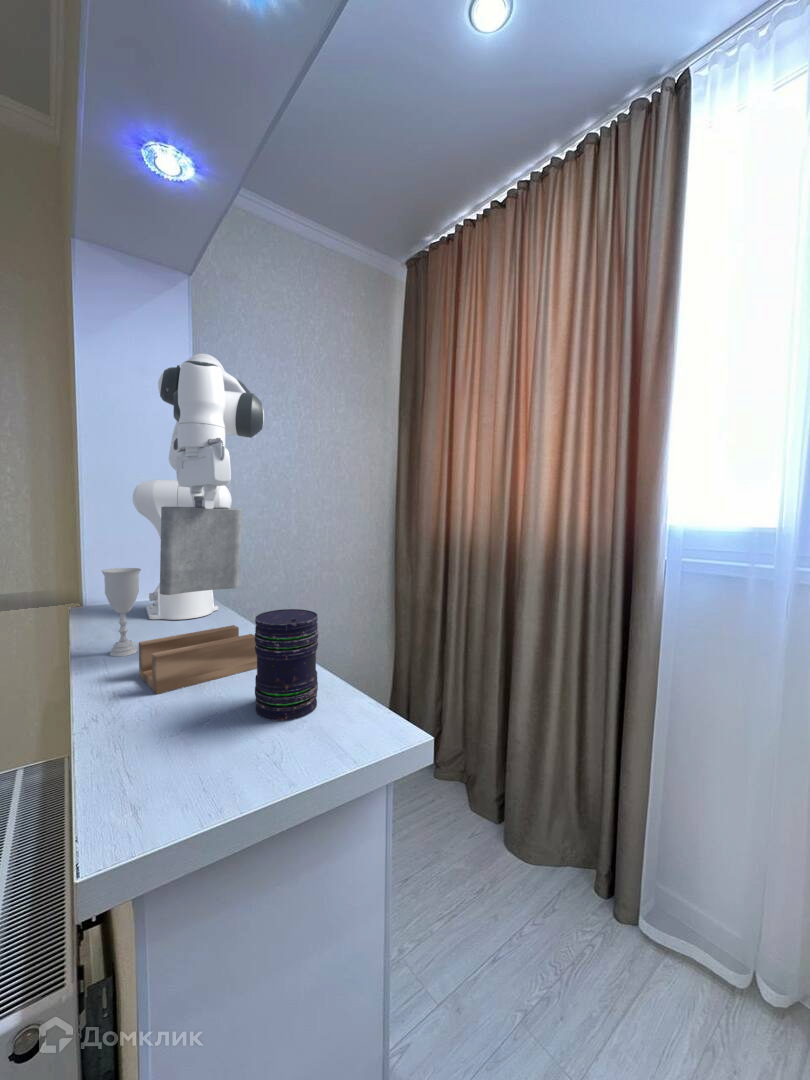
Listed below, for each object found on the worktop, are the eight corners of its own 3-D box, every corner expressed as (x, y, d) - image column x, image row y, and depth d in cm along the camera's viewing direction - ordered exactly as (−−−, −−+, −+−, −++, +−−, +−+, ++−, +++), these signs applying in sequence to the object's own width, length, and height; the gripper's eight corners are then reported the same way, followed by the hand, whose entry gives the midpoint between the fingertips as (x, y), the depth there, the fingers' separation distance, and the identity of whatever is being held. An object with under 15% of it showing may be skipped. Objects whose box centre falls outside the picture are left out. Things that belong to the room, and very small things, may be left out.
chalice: (150, 648, 97) (148, 568, 95) (128, 658, 90) (125, 573, 89) (119, 646, 97) (117, 567, 96) (95, 656, 91) (92, 571, 89)
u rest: (139, 675, 81) (138, 642, 81) (234, 654, 94) (233, 625, 93) (156, 694, 74) (155, 657, 73) (257, 668, 86) (257, 636, 86)
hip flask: (162, 595, 86) (164, 495, 83) (156, 590, 89) (158, 493, 86) (241, 587, 97) (245, 498, 94) (234, 583, 100) (237, 497, 97)
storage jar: (246, 702, 71) (246, 613, 70) (303, 688, 77) (303, 606, 76) (267, 728, 63) (267, 628, 62) (328, 710, 69) (329, 618, 68)
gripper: (239, 438, 84) (239, 509, 85) (200, 447, 99) (200, 508, 100) (206, 433, 80) (206, 508, 81) (169, 444, 94) (170, 507, 95)
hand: (203, 508), depth 90 cm, fingers closed on hip flask, 4 cm apart
